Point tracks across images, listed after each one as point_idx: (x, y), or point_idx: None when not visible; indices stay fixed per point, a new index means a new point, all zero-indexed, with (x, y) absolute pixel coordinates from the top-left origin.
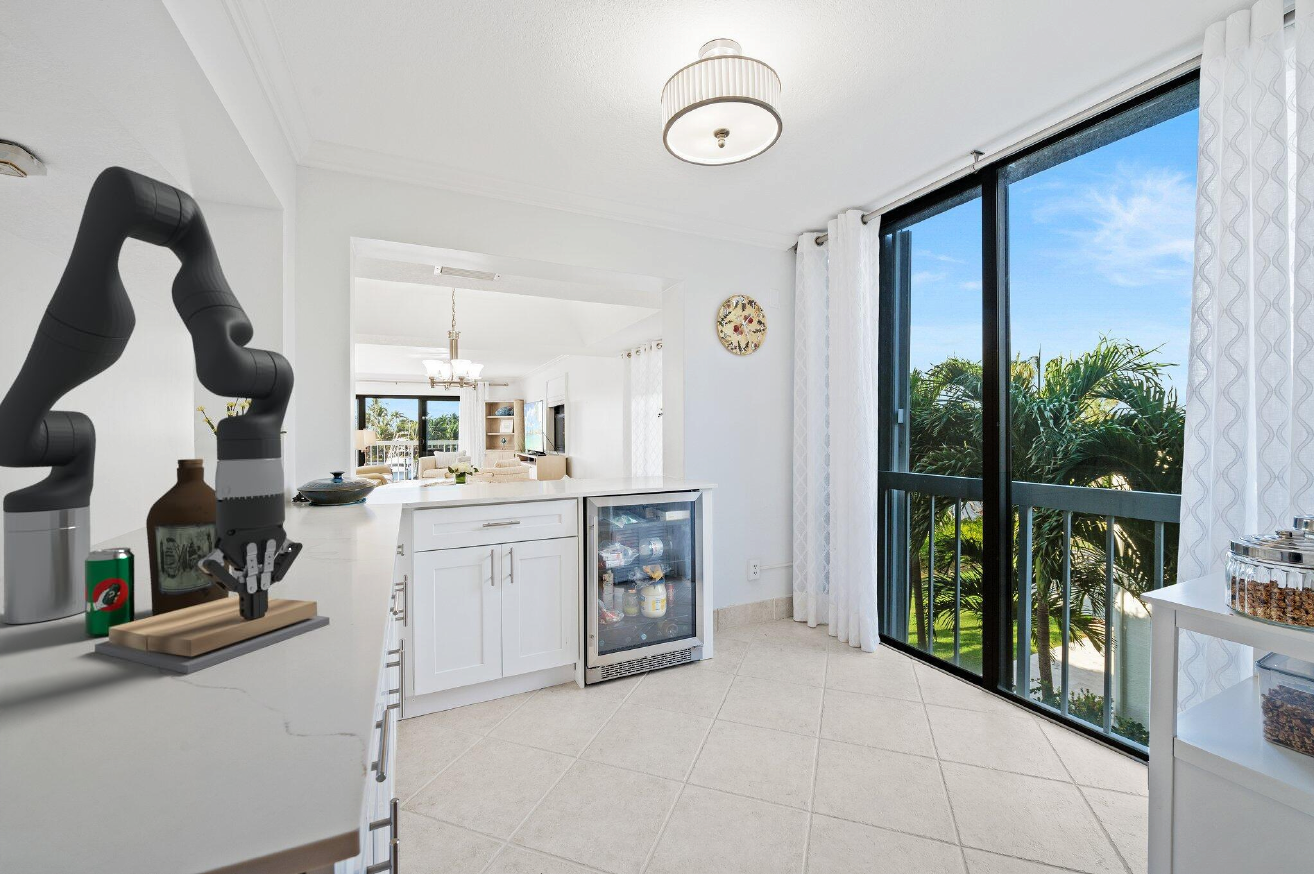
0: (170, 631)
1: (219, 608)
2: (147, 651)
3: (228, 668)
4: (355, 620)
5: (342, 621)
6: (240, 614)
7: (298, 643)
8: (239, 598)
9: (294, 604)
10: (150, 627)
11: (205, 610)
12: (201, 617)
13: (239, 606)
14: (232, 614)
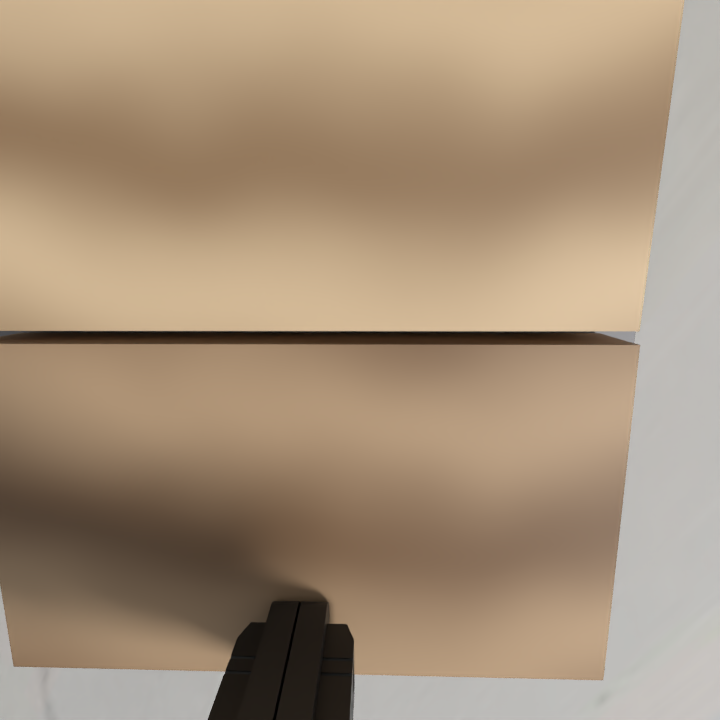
0: (32, 416)
1: (386, 182)
2: (21, 332)
3: (150, 675)
4: (645, 676)
5: (622, 639)
6: (242, 634)
7: (379, 687)
8: (210, 716)
9: (540, 604)
10: (17, 194)
11: (326, 137)
12: (235, 282)
13: (227, 669)
14: (319, 430)
